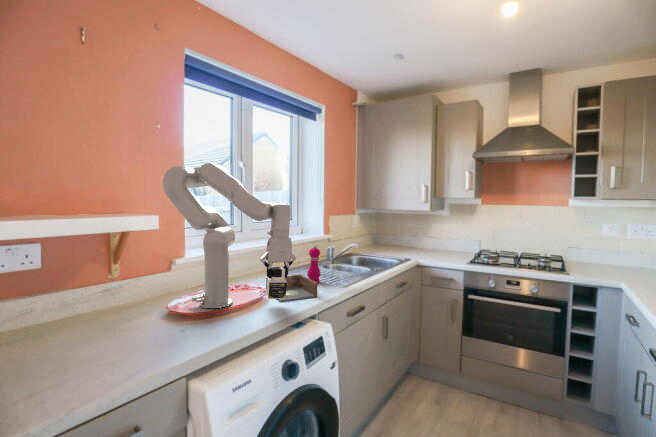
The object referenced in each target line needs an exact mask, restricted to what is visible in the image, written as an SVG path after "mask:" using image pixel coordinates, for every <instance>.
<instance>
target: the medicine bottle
mask: <svg viewBox="0 0 656 437" xmlns="http://www.w3.org/2000/svg"><path fill="white" fill-rule="evenodd" d="M271 269H272V278H271V279H270V278H268V277H266V278H267V292H266V296H267V299H268V300H277V299H286V289H287V281H286V280H285V269H284V268H283V267H281V266H272V267H271Z"/></svg>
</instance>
